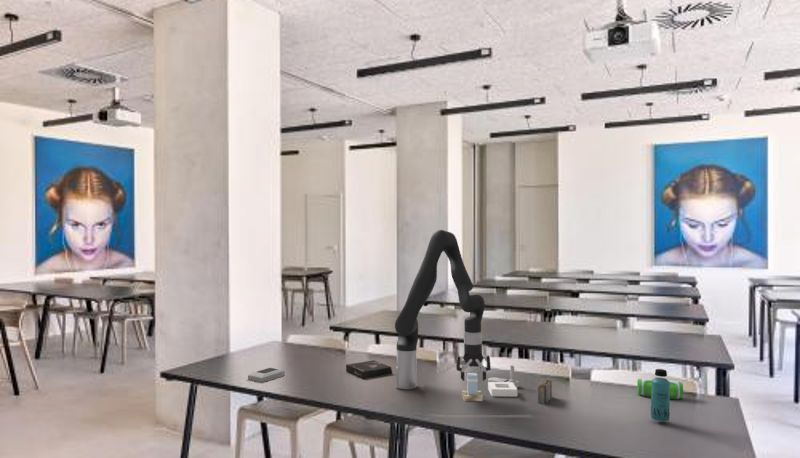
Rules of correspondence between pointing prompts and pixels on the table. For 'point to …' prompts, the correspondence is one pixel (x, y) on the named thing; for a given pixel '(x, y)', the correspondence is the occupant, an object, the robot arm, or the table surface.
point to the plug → (472, 384)
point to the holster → (472, 396)
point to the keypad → (266, 374)
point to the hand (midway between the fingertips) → (473, 380)
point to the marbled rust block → (544, 391)
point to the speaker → (646, 388)
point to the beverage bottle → (660, 396)
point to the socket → (502, 389)
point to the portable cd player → (368, 369)
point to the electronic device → (512, 379)
